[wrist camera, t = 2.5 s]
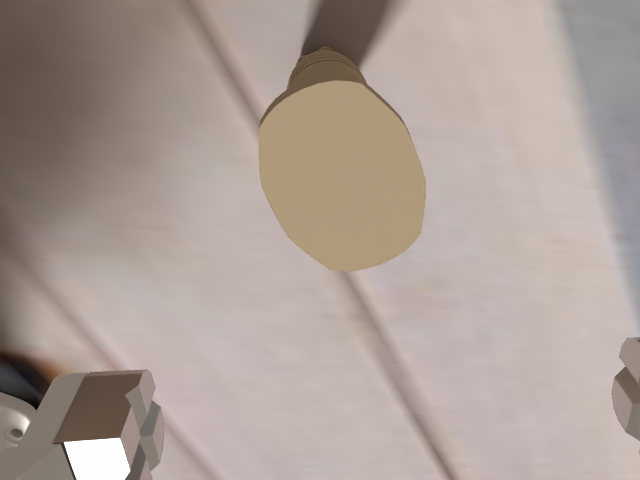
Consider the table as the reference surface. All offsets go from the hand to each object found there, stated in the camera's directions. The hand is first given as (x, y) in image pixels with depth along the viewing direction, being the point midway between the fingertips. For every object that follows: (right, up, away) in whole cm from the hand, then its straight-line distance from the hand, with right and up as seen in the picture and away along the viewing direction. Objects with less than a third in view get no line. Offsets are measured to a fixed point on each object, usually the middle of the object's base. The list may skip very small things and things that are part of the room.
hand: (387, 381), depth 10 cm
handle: (-1, +11, +22) cm, 24 cm away
